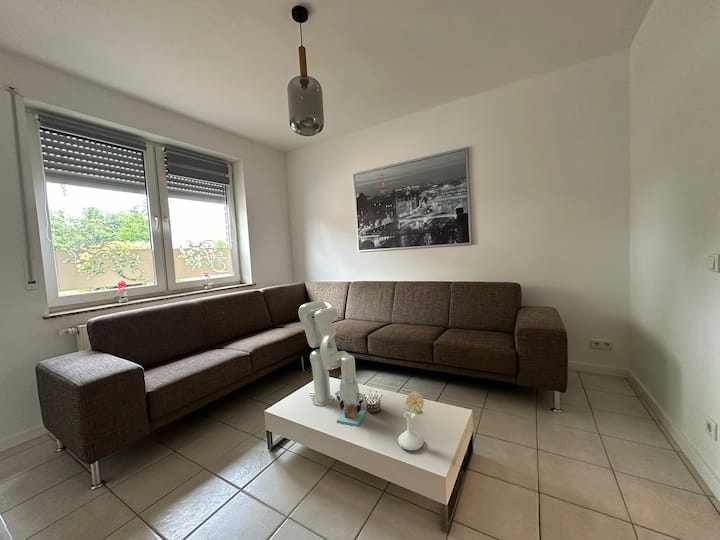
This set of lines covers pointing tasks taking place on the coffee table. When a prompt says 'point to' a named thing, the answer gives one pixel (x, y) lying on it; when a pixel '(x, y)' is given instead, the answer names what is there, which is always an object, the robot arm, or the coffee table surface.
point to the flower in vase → (410, 437)
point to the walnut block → (350, 411)
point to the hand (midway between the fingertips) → (350, 409)
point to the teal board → (351, 421)
